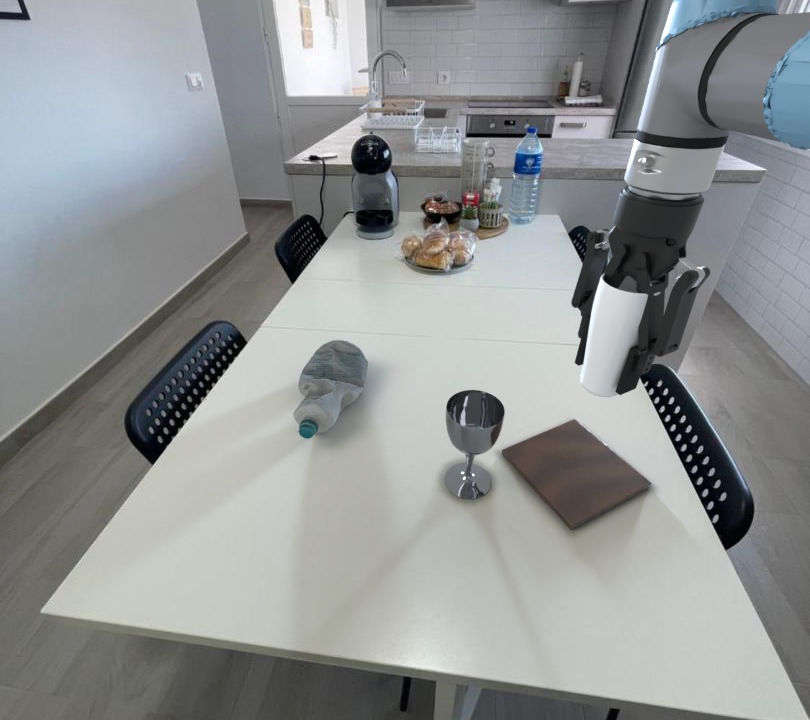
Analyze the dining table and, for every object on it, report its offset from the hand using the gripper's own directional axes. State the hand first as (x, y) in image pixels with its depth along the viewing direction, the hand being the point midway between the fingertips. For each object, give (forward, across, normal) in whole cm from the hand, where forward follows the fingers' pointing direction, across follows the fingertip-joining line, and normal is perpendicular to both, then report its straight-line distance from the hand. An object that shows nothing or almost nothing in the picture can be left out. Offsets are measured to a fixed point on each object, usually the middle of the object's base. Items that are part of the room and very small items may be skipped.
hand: (603, 375), depth 57 cm
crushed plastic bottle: (+21, -36, -27) cm, 49 cm away
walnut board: (+21, -2, +2) cm, 21 cm away
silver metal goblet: (+21, -8, -14) cm, 26 cm away
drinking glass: (+2, 0, 0) cm, 2 cm away
